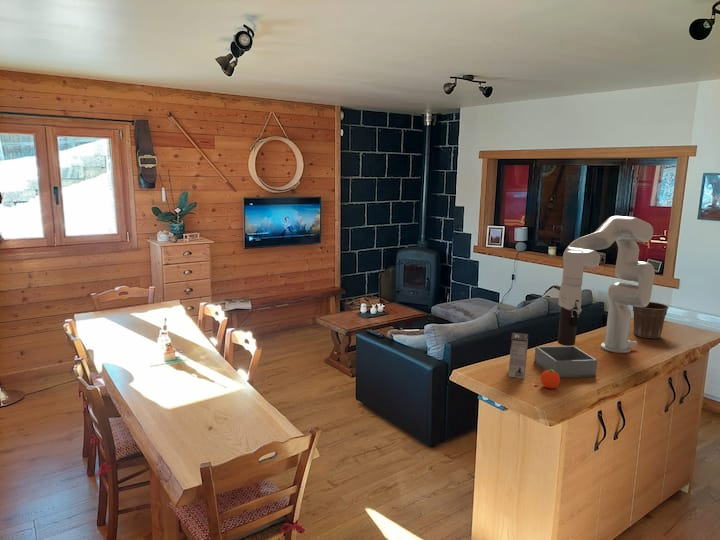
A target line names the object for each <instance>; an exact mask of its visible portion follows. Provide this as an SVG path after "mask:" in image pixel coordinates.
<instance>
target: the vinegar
mask: <svg viewBox="0 0 720 540" xmlns="http://www.w3.org/2000/svg"><path fill="white" fill-rule="evenodd" d="M573 309H575V308H573ZM574 312H576V311H573V313H574ZM570 317H571V313H570V310H567V309H565V308H564V307H561V309H560V308H559V322H558V332H557V343H558V345H560V346H575V345H576V339H577V328H578V325H577V326H576V327H570V326H569V320H570Z"/></svg>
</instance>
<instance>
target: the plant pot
mask: <svg viewBox="0 0 720 540" xmlns="http://www.w3.org/2000/svg"><path fill="white" fill-rule="evenodd" d="M669 308H670V306H669V305H666V304H663V303H659V302H653V301H650V302H649V304H648V305H647V306H646V307H636V306H632V312H633V334H634V336H636V335H637V336H636V337H638V336H640V337H639V338H642V337H643V339H652V340H653V339H654V340H655V339H657V338H658V339H660V338H661V337H662V332H663V327H664V323H665V318H666V316H667V313H668V310H669Z"/></svg>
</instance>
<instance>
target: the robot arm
mask: <svg viewBox="0 0 720 540" xmlns="http://www.w3.org/2000/svg"><path fill="white" fill-rule="evenodd" d="M653 236H654V228H653V226H652V225H651V224H650V223H649V222H647V221H645V220H642V219H641V218H638V217H635V216H626V215H625V216H623V215H613V216H609V217H608V218H607V219H606V220H605V221H604V222H602V224H601V225H600V226H599V227H598V228H597V229H596V230H595V231H594V232H592V233H590V234H587V235H584V236H581V237H578V238H576V239H574V240H573V241H572V242H570V243H569V245H568V246H567V247H566V248H565V250H564V252H563V255H562V260H563V268H562V269H563V270H562V280H561V284H560V288H559V292H558V300H557V304H558V306H559V310H560V309H561V307H564V308H565V309H567V310H570V313H571V317H570V320H569V326H570V327H576V326H577V327H578V320H579V317H580V314H581V313H582V311H583V310H582V307H581V306H582V294H583V292H582V286H583V278H584V277H583V276H584V275H583V274H584V269H593V268H596V267H597V266H598V265H599V264H600V262H601V255H600V254H599V252H598V250H604V249H608V248H610V247H611V246H613V245H612V244H613V243H615V242H616V245H617V257H616V263H615V269H614V270H615V272H614V274H615V277H616V278H617V279H619V280H623V281H627V283H626V282H619V281H617V282H612V283H611V284H610V285H609V287H608V290H607V297H608V313H607V321H606V331H605V337H604V339H605V341H604V342H602V343H601V344H600V348H601V349H603V350H605V351H608V352H610V353H611V352H612V353H616V354H617V353H618V354H627V353H630V352H631V351H632V349H631V346H638V341H635V340H634V341H632V340H629V337H630V326H631V318H632V311H631V309H630V307H629V306H631V307H633V306H636V307H646V306H647V305H648V304H649V302H651V297H652V293H653V292H652V291H653V287H654V286H653V285H654V280H655V267H654V265H653V264H652V263H651V262H647V261H640V260H639V255H640V247H639V245H638V243H648V242H649V241H650V240H652V238H653ZM628 282H634V283H637V284H632V283H628ZM573 308H575V309H573ZM573 311H576V312H574V313H573Z"/></svg>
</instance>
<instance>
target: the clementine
mask: <svg viewBox="0 0 720 540" xmlns="http://www.w3.org/2000/svg"><path fill="white" fill-rule="evenodd" d="M540 381H541V384H542V385H543V386H544V387H545V388H547V389H555V388H556V387H558V386H559V385H560V382H561V378H560V377H559V375H558V373H557V372H555V370H553V369H551V370H546V371H545V370H543V371H542V373H541V375H540Z"/></svg>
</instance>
